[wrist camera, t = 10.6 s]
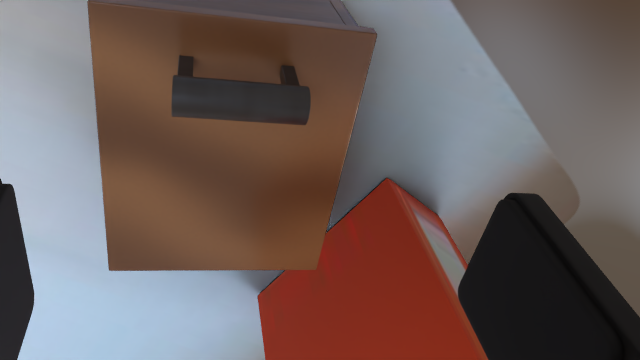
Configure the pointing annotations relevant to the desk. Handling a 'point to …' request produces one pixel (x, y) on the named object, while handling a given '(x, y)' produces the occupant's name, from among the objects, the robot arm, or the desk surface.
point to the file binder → (374, 290)
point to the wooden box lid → (221, 133)
